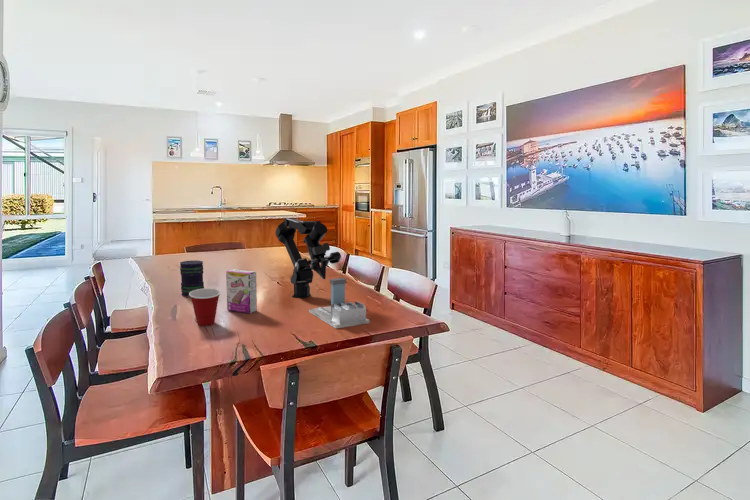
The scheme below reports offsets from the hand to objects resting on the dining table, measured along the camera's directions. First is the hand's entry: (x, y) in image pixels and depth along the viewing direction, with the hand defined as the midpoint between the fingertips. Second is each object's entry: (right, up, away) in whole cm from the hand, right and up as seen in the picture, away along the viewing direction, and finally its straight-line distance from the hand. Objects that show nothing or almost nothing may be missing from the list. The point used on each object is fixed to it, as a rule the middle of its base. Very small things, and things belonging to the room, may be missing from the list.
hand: (324, 278), depth 182 cm
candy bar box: (-33, -13, -6) cm, 36 cm away
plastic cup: (-40, -15, -23) cm, 49 cm away
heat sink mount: (+7, -14, -12) cm, 20 cm away
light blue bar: (+8, -13, -14) cm, 21 cm away
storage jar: (-63, -9, +20) cm, 67 cm away
